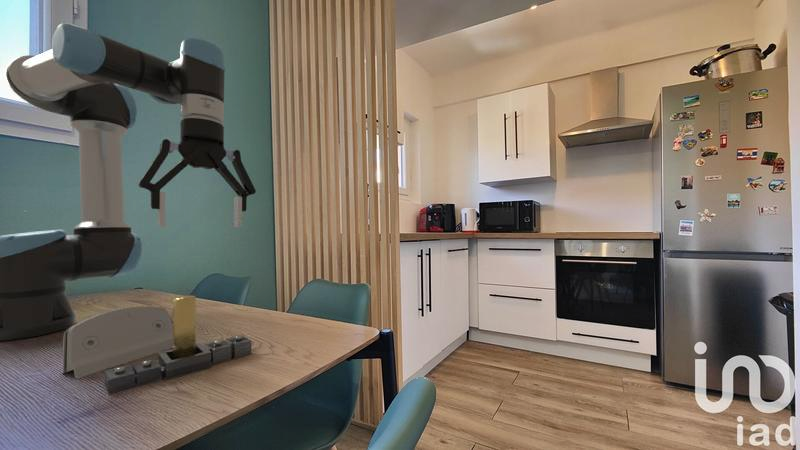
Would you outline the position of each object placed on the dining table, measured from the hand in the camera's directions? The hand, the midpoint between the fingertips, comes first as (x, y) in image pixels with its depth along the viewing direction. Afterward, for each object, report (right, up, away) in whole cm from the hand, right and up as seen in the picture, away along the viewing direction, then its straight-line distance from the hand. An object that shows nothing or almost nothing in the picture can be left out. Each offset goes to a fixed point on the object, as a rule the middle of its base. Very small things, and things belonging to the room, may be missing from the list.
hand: (202, 227), depth 67 cm
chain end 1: (+1, -24, -13) cm, 27 cm away
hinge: (-11, -25, -5) cm, 28 cm away
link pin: (+3, -24, -11) cm, 26 cm away
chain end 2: (+6, -24, -8) cm, 26 cm away
